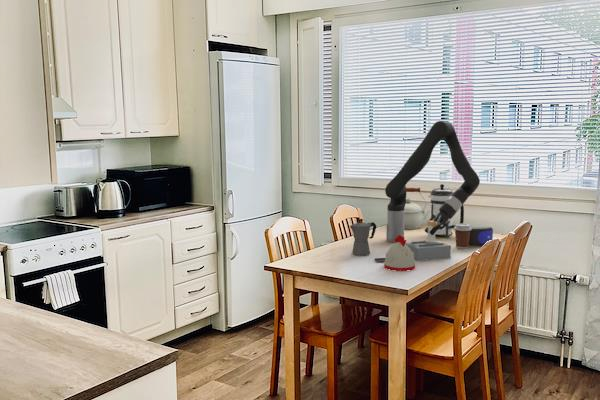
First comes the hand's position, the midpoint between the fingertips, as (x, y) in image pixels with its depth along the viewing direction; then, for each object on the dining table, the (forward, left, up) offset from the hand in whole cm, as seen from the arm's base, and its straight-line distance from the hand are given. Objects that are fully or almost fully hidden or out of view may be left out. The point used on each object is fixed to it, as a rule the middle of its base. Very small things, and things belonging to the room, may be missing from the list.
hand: (428, 232), depth 282 cm
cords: (-16, -14, -12) cm, 24 cm away
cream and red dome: (-11, -25, -12) cm, 30 cm away
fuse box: (-1, 0, -12) cm, 12 cm away
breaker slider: (+1, +1, -5) cm, 6 cm away
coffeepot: (-32, -3, -12) cm, 34 cm away
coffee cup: (+16, +24, -12) cm, 31 cm away
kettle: (-16, +74, -12) cm, 76 cm away
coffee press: (+5, +52, -12) cm, 53 cm away
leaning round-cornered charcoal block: (+24, +32, -12) cm, 42 cm away
